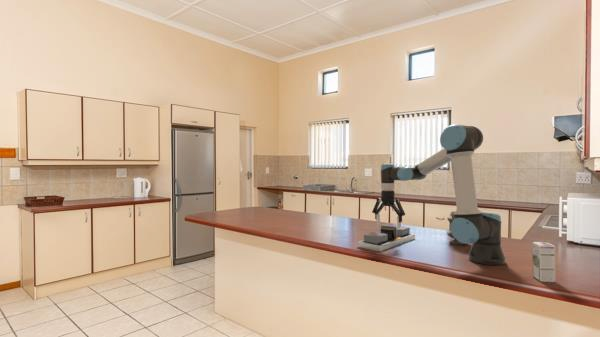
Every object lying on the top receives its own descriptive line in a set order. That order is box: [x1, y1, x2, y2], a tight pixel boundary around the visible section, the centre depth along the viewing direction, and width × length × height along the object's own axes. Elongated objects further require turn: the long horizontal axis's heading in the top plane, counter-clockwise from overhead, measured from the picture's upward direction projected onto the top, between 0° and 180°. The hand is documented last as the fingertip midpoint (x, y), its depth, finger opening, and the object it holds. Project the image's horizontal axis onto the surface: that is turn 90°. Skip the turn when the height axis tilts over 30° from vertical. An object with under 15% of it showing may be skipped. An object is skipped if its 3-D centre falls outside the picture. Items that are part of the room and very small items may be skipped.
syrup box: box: [532, 241, 556, 283], centre depth 132 cm, size 6×6×14 cm
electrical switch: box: [380, 224, 398, 241], centre depth 192 cm, size 9×5×9 cm, turn 57°
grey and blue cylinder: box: [446, 211, 468, 246], centre depth 191 cm, size 12×12×18 cm
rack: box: [357, 225, 416, 252], centre depth 193 cm, size 14×40×7 cm, turn 135°
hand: (388, 226), depth 193 cm, fingers open, 13 cm apart
